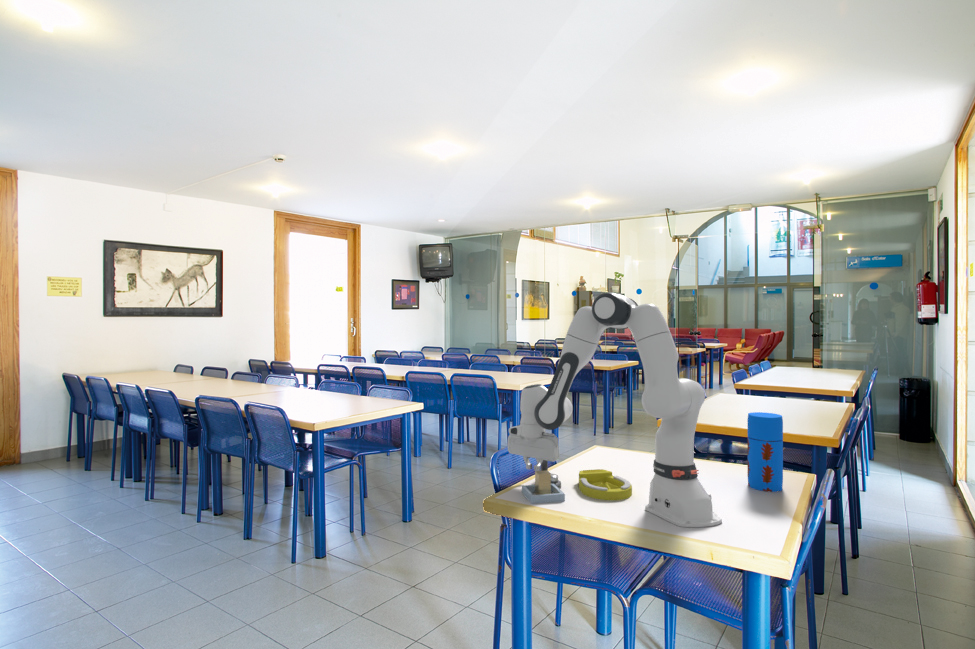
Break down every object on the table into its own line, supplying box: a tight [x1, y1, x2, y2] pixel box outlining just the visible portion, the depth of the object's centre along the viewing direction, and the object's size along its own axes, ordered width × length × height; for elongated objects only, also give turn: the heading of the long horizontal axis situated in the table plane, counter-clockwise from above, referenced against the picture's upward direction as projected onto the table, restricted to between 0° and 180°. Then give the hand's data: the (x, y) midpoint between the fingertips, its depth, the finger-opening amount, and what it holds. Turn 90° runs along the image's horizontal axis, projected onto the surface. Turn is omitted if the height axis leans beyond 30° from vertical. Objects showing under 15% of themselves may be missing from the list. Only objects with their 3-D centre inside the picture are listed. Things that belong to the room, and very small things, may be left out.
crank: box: [540, 460, 559, 483], centre depth 186 cm, size 11×4×6 cm, turn 12°
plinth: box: [551, 479, 562, 490], centre depth 182 cm, size 6×16×2 cm, turn 102°
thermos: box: [747, 411, 784, 493], centre depth 183 cm, size 11×11×25 cm
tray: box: [521, 484, 566, 504], centre depth 173 cm, size 11×11×3 cm
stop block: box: [534, 470, 552, 495], centre depth 172 cm, size 4×4×8 cm
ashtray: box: [578, 469, 633, 501], centre depth 179 cm, size 16×21×5 cm
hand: (533, 469), depth 188 cm, fingers closed
